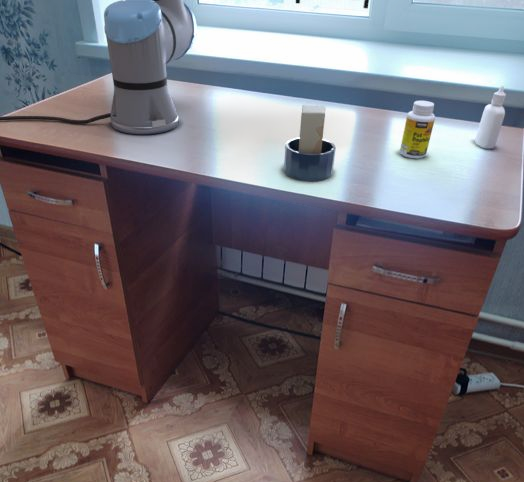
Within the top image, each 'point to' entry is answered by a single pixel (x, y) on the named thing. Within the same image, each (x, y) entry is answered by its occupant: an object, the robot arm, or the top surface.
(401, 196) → the top surface
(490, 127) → the eye dropper bottle
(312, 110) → the box
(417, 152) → the supplement bottle
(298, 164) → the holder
